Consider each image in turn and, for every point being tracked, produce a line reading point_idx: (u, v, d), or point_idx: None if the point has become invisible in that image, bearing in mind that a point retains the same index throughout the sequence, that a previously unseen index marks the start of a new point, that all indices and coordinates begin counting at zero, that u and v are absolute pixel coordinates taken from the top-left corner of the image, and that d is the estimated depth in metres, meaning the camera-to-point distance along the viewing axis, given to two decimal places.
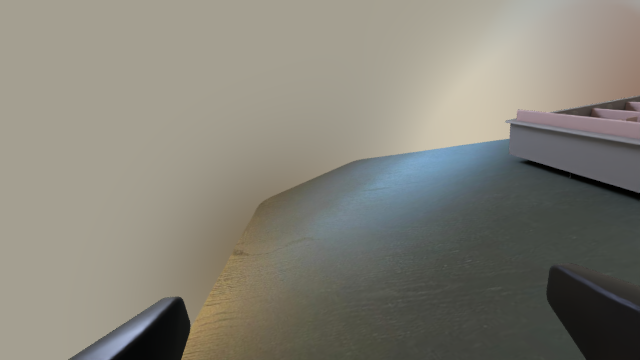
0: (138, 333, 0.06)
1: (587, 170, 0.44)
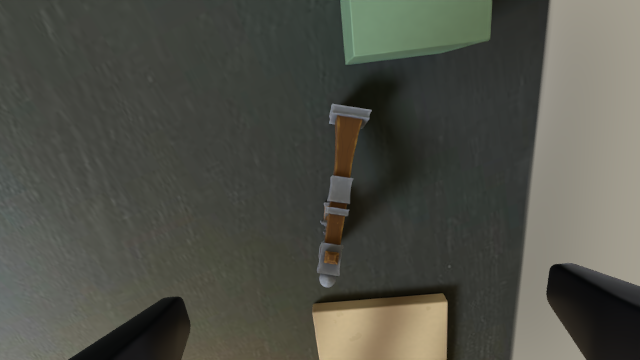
0: (138, 333, 0.06)
1: None
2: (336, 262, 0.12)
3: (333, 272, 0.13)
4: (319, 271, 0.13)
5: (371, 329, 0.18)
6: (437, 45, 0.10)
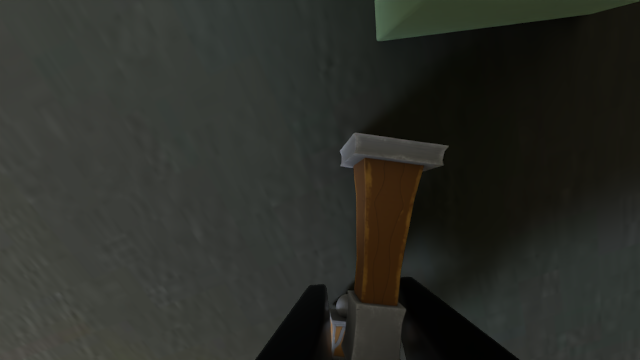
0: (319, 319, 0.06)
1: None
2: None
3: None
4: None
5: None
6: None
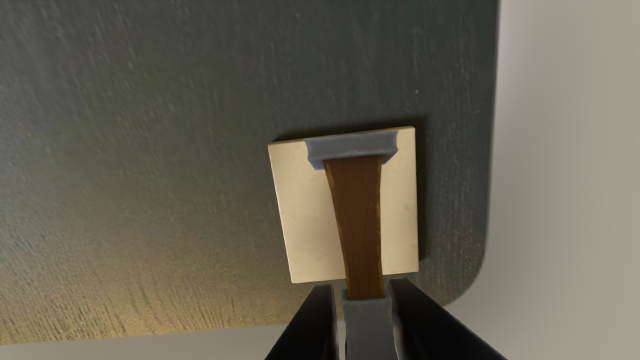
0: (327, 318, 0.06)
1: None
2: None
3: None
4: None
5: None
6: None
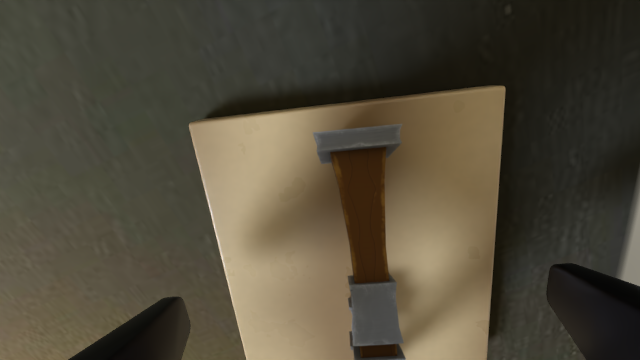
0: (138, 333, 0.06)
1: None
2: None
3: None
4: None
5: (326, 168, 0.08)
6: None
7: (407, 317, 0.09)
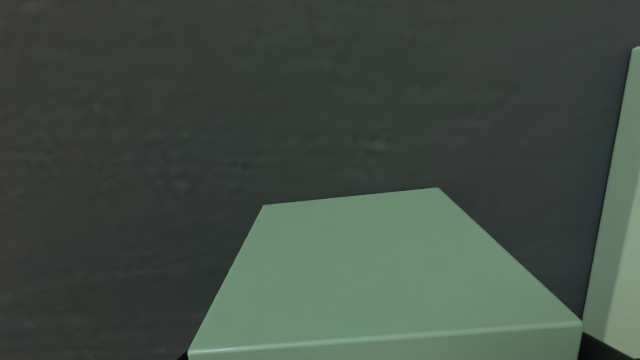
0: None
1: None
2: None
3: None
4: None
5: None
6: None
7: None
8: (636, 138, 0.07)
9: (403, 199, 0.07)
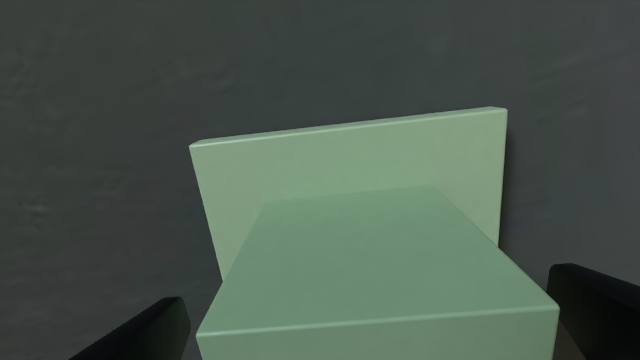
0: (138, 333, 0.06)
1: None
2: None
3: None
4: None
5: None
6: None
7: None
8: None
9: (399, 196, 0.07)
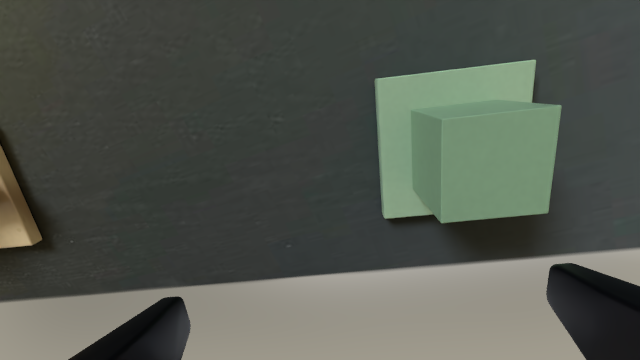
0: (138, 333, 0.06)
1: None
2: None
3: None
4: None
5: None
6: (442, 186, 0.12)
7: None
8: (377, 115, 0.16)
9: (483, 102, 0.15)
